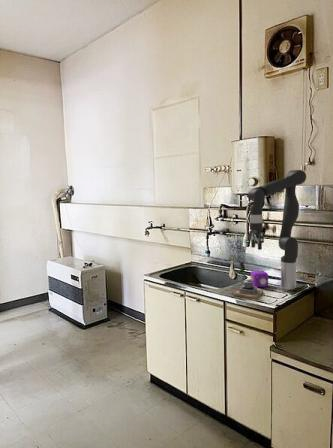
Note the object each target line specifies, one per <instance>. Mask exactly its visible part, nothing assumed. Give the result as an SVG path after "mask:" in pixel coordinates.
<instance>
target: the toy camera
mask: <svg viewBox="0 0 333 448" xmlns="http://www.w3.org/2000/svg"><path fill="white" fill-rule="evenodd" d="M250 280H252V281H253V282H252V283H253V286H254V287H257V288H267V287H269V274H268V272H267V271H265V270H263V269H260V270H252V271H251V272H250Z"/></svg>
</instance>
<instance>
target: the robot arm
mask: <svg viewBox="0 0 333 448" xmlns="http://www.w3.org/2000/svg"><path fill="white" fill-rule="evenodd" d="M306 180H307V174H306V172H305V171H304V170H302V169H294V170H293V169H292V170H289V171H288V172H286V176H285V177H283V178H281V179H277V180H273V181H269V182H268V183H265V184H263V185H261V186H257V187H253V188H251V189H250V190H249V191H247V198H248V199H249V200H250V201H253V204H251V205H250V207H249V233H248V234H249V236H248V237H249V241H250V243H251V246H250V247H251V248H252V249H253V248H254V249H255V248H256V242H257V250H260V251H261V250H262V247H263V245H262V244H263V243H265V239H264V237H265V236H264V235H265V233H264V232H262V230H263V229H264V228H263V227H264V226H263V224H264V222H263V221H264V220H263V219H264V218H263V206H264V201H265V197H268V196H271V195H274V194H276V193H278V192H280V191H282V190H285V191H284V201H283V202H284V203H283V213H282V220H281V221H282V222H281V229H280V233H279V236H278V237H279V239H278V247H279V249H281V250H283V251H284V254H283V255H282V256H281V257H280V288H281V289H282V290H286V291H287V290H288V291H290V290H291V291H293V289H294V290H296V289H297V259H298V257H299V256H298V253H299V242H298V239H296V238H295V237H292V229H293V227H294V225H295V223H296V222H297V220H298V218H299V212H300V203H299V200H298V198H297V195H296V190H297V189H296V188H297V186H299V185H303V184H304V183H305V182H306ZM295 288H296V289H295Z"/></svg>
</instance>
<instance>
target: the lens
mask: <svg viewBox="0 0 333 448" xmlns="http://www.w3.org/2000/svg"><path fill="white" fill-rule="evenodd" d="M252 282H253V281H252V280H251V279H244V281H243V286H244V289H247V290H253V283H252Z"/></svg>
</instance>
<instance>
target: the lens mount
mask: <svg viewBox="0 0 333 448" xmlns="http://www.w3.org/2000/svg"><path fill="white" fill-rule="evenodd" d="M263 294H264V290H263V289H258V287H254V286H253V290H247V289H244V285H242V286H241V287H240V288H239V289H238V290H236V291H235V292H234V293H232V296H233V297H237V296H239V297H238V298H246V299H252V300H257V299H258V298H259V297H260V296H262V295H263Z"/></svg>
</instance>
